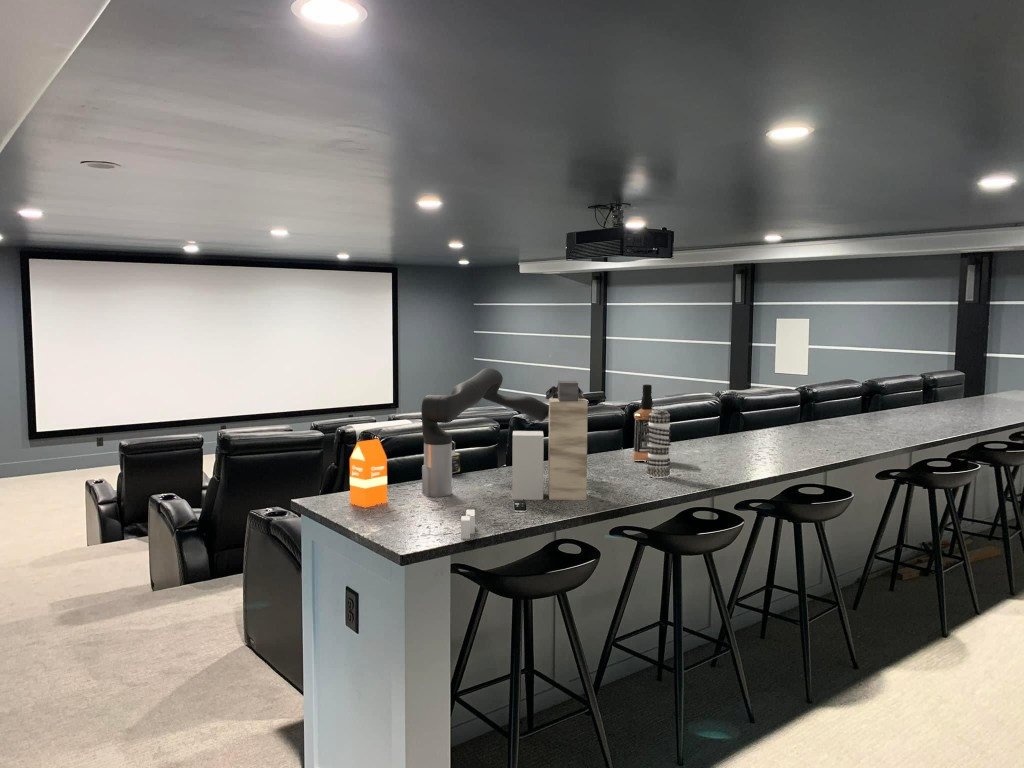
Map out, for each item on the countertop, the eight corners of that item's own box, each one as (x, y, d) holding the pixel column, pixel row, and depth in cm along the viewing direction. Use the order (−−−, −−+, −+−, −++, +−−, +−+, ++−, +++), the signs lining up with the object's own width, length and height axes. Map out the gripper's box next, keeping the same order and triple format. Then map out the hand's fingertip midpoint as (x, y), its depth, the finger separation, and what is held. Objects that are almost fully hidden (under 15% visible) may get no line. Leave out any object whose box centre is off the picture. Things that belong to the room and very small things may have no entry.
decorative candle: (642, 474, 279) (643, 409, 277) (666, 473, 280) (667, 408, 278) (649, 479, 270) (650, 411, 268) (673, 478, 271) (675, 411, 269)
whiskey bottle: (656, 458, 312) (658, 383, 310) (659, 462, 303) (660, 385, 300) (632, 457, 314) (633, 383, 311) (633, 462, 304) (635, 385, 301)
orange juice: (349, 503, 231) (349, 440, 230) (371, 498, 238) (371, 437, 236) (365, 507, 226) (364, 443, 224) (387, 502, 233) (387, 440, 231)
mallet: (556, 395, 254) (556, 378, 254) (573, 395, 254) (574, 378, 254) (559, 401, 235) (559, 382, 235) (577, 401, 235) (578, 382, 235)
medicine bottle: (447, 474, 277) (447, 443, 276) (433, 472, 281) (433, 441, 280) (460, 471, 282) (460, 440, 281) (446, 469, 287) (446, 439, 286)
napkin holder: (467, 525, 208) (467, 505, 208) (499, 531, 202) (499, 511, 201) (431, 537, 196) (431, 516, 196) (464, 544, 189) (464, 523, 189)
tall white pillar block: (512, 492, 247) (512, 430, 245) (542, 492, 247) (542, 431, 245) (512, 499, 237) (512, 435, 235) (543, 499, 237) (543, 435, 235)
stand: (548, 492, 247) (548, 398, 244) (583, 493, 247) (584, 398, 244) (549, 499, 237) (550, 401, 234) (586, 500, 237) (587, 401, 234)
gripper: (543, 394, 266) (545, 373, 251) (582, 395, 266) (586, 374, 250) (544, 413, 263) (545, 393, 247) (583, 414, 263) (587, 394, 247)
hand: (566, 384), depth 249 cm, fingers closed on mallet, 3 cm apart
